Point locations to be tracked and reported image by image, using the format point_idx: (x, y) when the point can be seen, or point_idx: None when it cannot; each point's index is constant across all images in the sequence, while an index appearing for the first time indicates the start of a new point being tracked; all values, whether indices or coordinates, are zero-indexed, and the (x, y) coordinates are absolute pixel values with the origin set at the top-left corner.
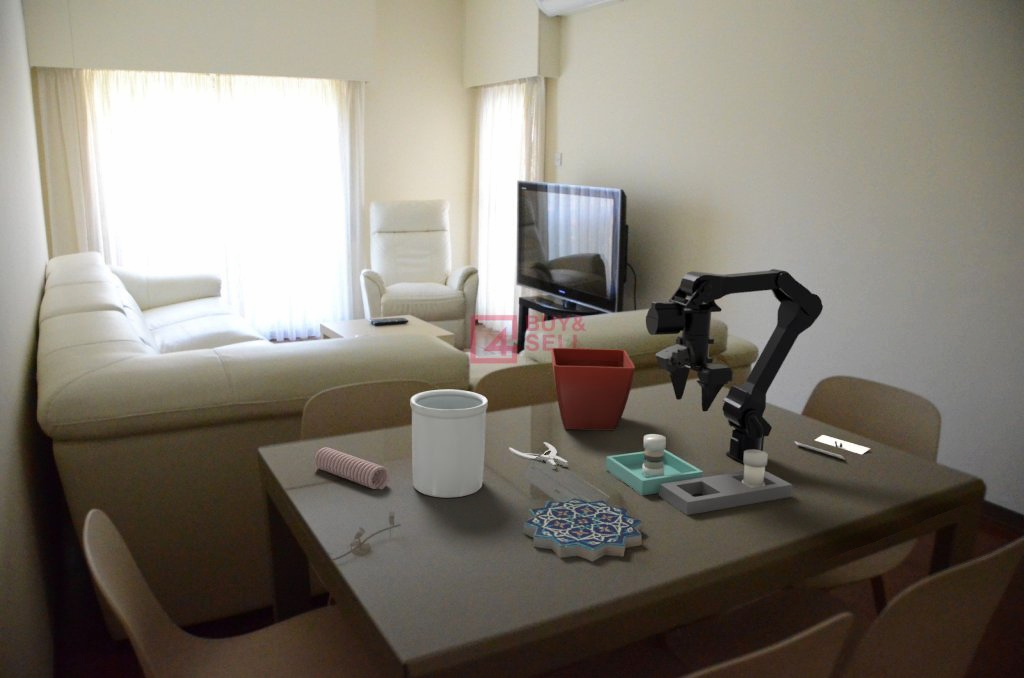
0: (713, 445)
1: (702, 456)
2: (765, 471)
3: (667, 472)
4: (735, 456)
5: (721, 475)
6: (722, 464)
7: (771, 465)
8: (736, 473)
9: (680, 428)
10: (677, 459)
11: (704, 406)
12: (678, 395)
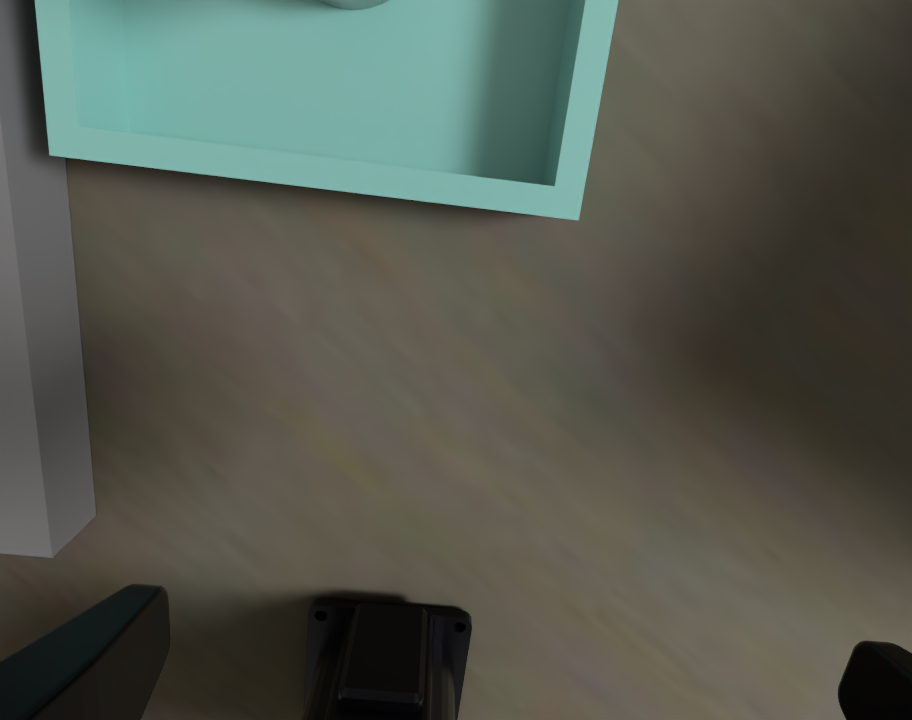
0: (609, 647)
1: (512, 493)
2: (1, 549)
3: (351, 67)
4: (368, 609)
5: (3, 260)
6: (363, 505)
7: (252, 691)
8: (12, 376)
9: None
10: (347, 160)
11: (36, 646)
12: (909, 713)
